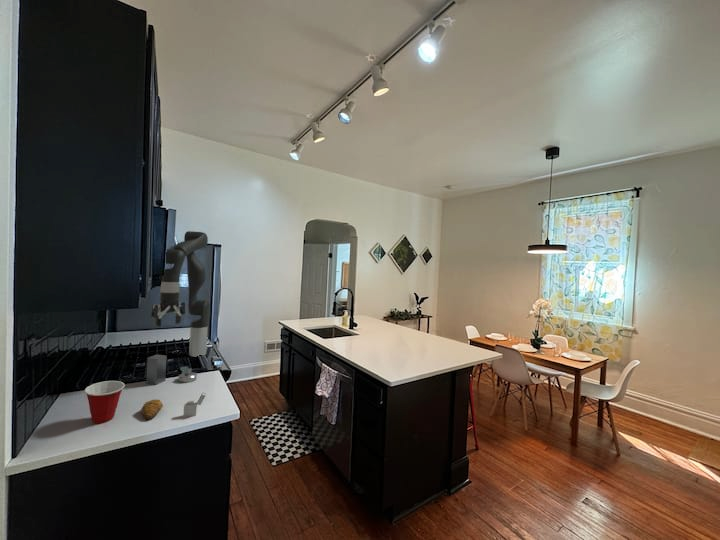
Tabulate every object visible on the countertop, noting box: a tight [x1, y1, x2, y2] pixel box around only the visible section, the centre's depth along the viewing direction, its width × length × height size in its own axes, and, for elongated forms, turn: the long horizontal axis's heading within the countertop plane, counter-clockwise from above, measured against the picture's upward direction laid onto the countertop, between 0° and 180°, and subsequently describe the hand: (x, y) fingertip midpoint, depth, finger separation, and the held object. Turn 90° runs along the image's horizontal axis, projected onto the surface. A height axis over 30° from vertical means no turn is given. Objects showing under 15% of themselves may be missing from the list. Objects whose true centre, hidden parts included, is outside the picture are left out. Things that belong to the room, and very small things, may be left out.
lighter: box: [182, 392, 207, 418], centre depth 111 cm, size 7×2×8 cm, turn 114°
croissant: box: [141, 399, 164, 421], centre depth 111 cm, size 14×7×5 cm, turn 26°
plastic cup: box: [84, 380, 126, 425], centre depth 104 cm, size 11×11×12 cm
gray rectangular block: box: [145, 354, 168, 386], centre depth 136 cm, size 5×5×12 cm
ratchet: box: [178, 365, 198, 384], centre depth 146 cm, size 19×8×5 cm, turn 37°
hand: (168, 324), depth 139 cm, fingers open, 8 cm apart
